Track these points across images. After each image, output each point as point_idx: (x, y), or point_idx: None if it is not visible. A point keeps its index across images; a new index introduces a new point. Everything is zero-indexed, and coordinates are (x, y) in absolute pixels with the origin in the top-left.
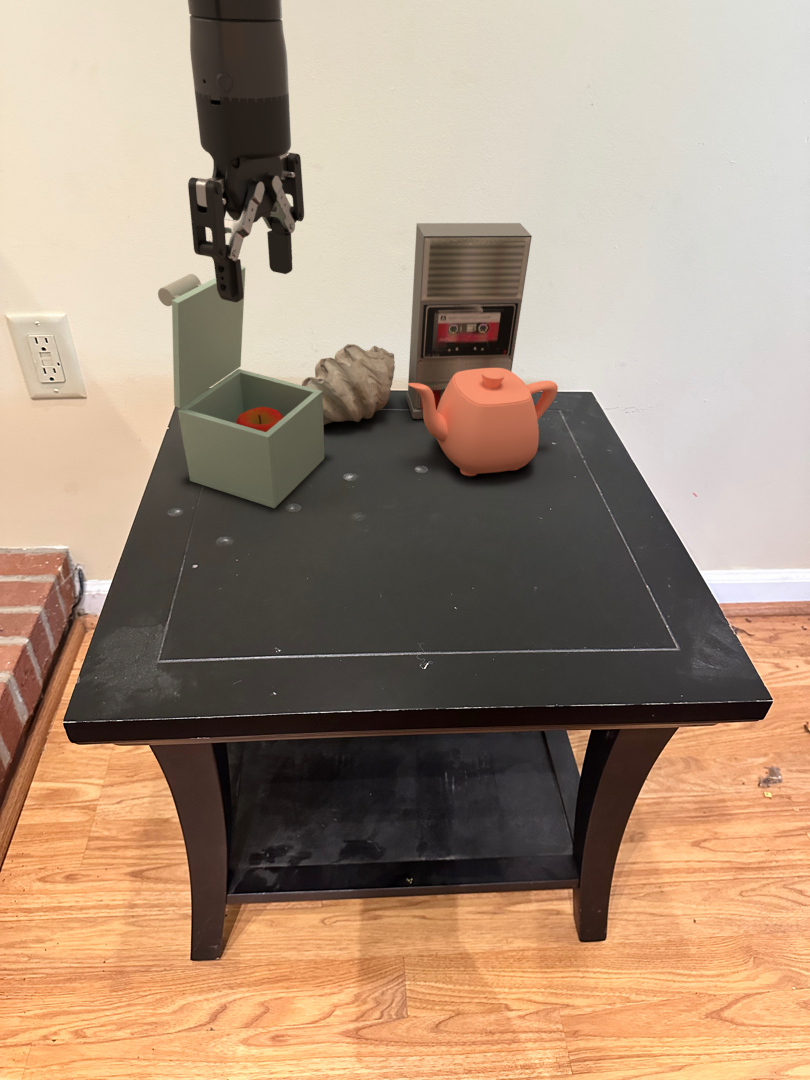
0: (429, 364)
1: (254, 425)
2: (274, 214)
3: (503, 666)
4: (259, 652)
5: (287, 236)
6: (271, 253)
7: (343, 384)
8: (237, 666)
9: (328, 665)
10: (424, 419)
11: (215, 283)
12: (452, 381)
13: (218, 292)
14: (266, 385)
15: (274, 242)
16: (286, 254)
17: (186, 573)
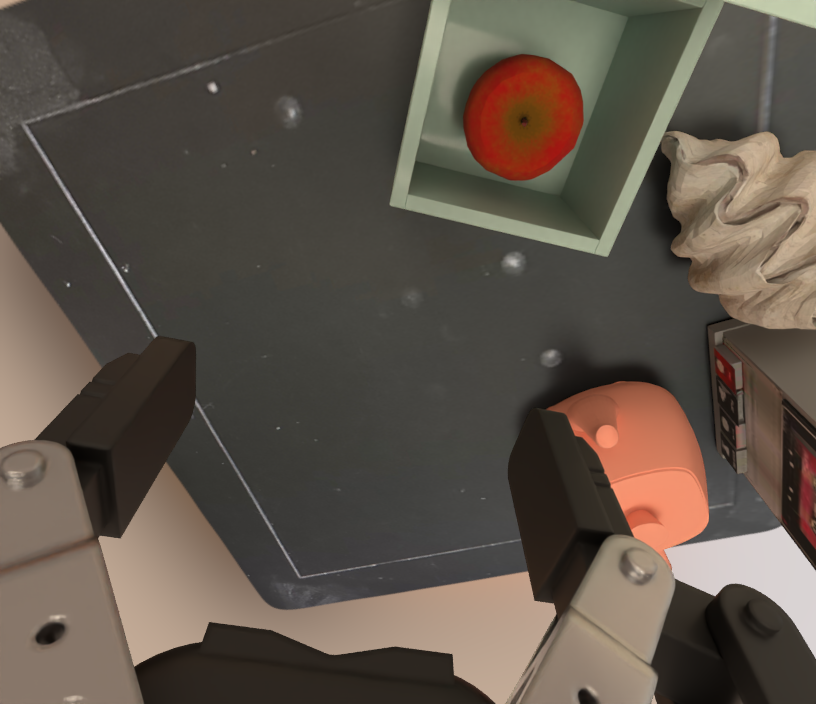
0: (774, 403)
1: (488, 124)
2: (513, 694)
3: (218, 471)
4: (110, 248)
5: (535, 598)
6: (546, 461)
7: (725, 246)
8: (76, 230)
9: (135, 327)
10: (588, 404)
11: (742, 4)
12: (658, 465)
13: (119, 358)
14: (653, 102)
15: (551, 516)
16: (521, 522)
17: (191, 80)
